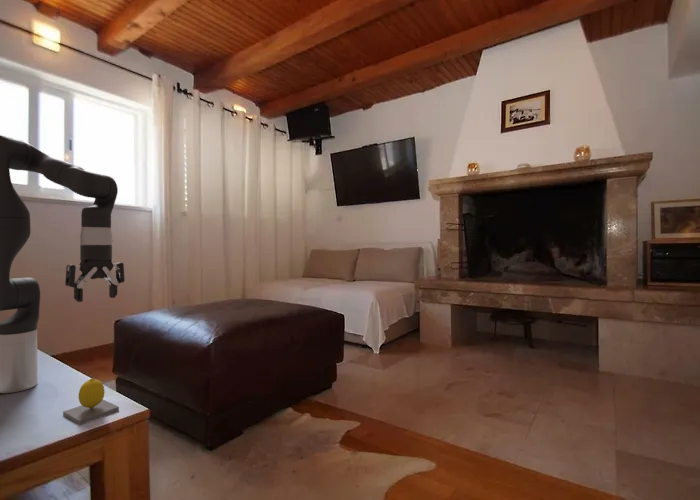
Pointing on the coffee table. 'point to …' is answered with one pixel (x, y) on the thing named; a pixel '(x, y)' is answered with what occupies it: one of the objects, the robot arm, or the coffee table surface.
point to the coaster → (90, 412)
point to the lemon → (91, 393)
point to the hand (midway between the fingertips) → (96, 299)
